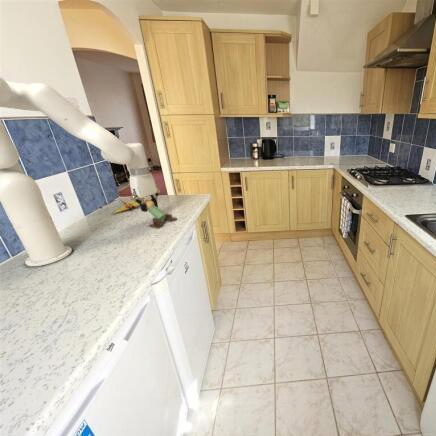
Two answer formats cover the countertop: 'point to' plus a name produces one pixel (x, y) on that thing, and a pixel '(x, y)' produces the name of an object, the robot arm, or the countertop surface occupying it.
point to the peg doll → (154, 210)
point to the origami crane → (126, 206)
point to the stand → (158, 223)
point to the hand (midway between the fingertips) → (150, 208)
